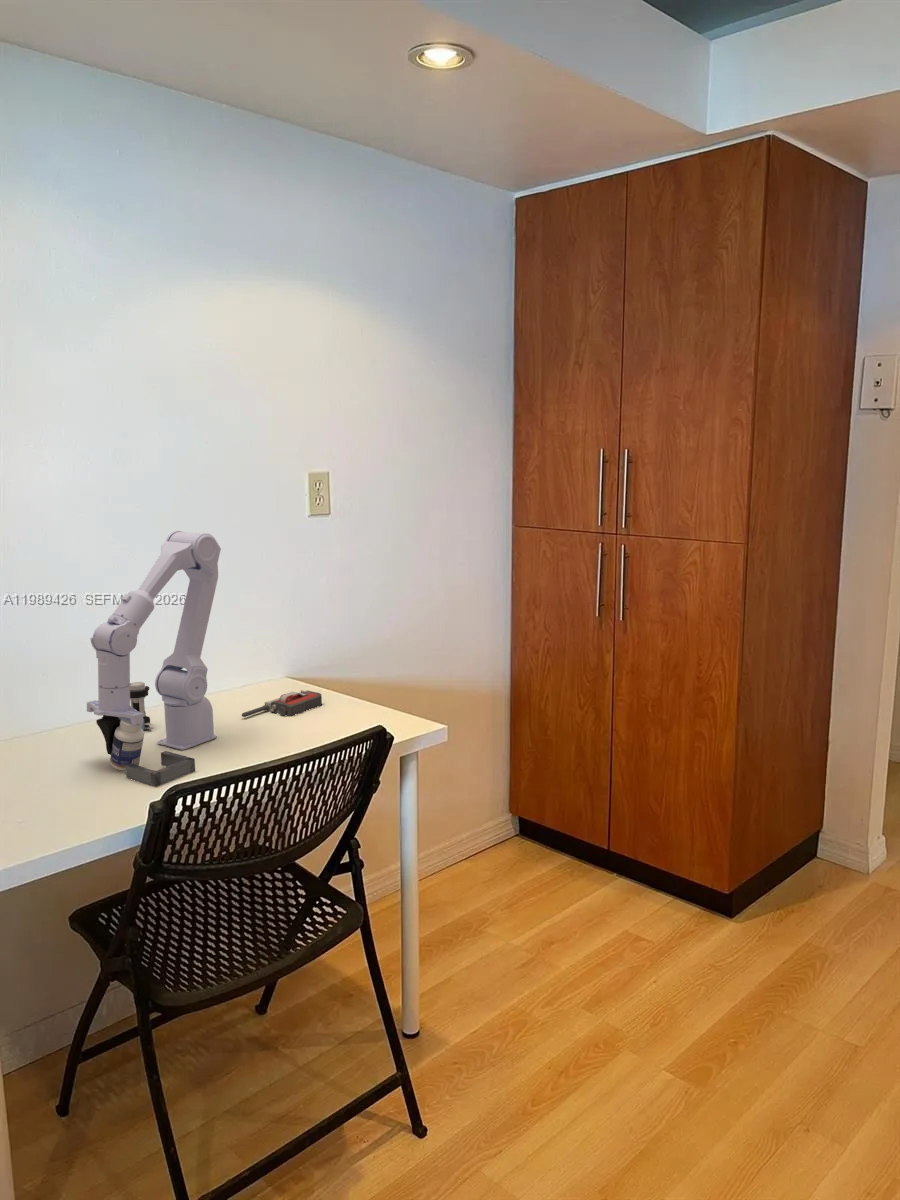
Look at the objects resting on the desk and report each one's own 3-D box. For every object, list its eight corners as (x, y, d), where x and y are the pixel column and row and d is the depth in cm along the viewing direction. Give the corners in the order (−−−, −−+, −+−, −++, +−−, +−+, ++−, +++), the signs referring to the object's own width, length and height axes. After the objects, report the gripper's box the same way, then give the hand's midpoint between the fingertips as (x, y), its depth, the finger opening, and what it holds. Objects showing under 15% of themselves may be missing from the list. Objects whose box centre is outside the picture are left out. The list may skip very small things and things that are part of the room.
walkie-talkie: (300, 699, 221) (239, 720, 204) (300, 681, 220) (238, 701, 204) (327, 705, 216) (266, 727, 200) (327, 687, 215) (265, 708, 199)
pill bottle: (107, 756, 175) (115, 712, 172) (136, 756, 178) (144, 713, 175) (111, 771, 171) (118, 727, 168) (140, 771, 174) (148, 727, 170)
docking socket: (166, 763, 177) (165, 750, 176) (195, 771, 172) (194, 758, 172) (126, 778, 169) (125, 765, 168) (155, 787, 164) (154, 774, 164)
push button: (161, 728, 198) (158, 684, 196) (141, 734, 193) (138, 689, 192) (141, 723, 201) (138, 679, 200) (121, 729, 197) (118, 685, 195)
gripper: (72, 682, 173) (73, 750, 175) (120, 695, 166) (121, 766, 167) (104, 676, 179) (104, 742, 181) (152, 688, 171) (152, 757, 173)
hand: (114, 753), depth 175 cm, fingers closed, pressing on pill bottle
